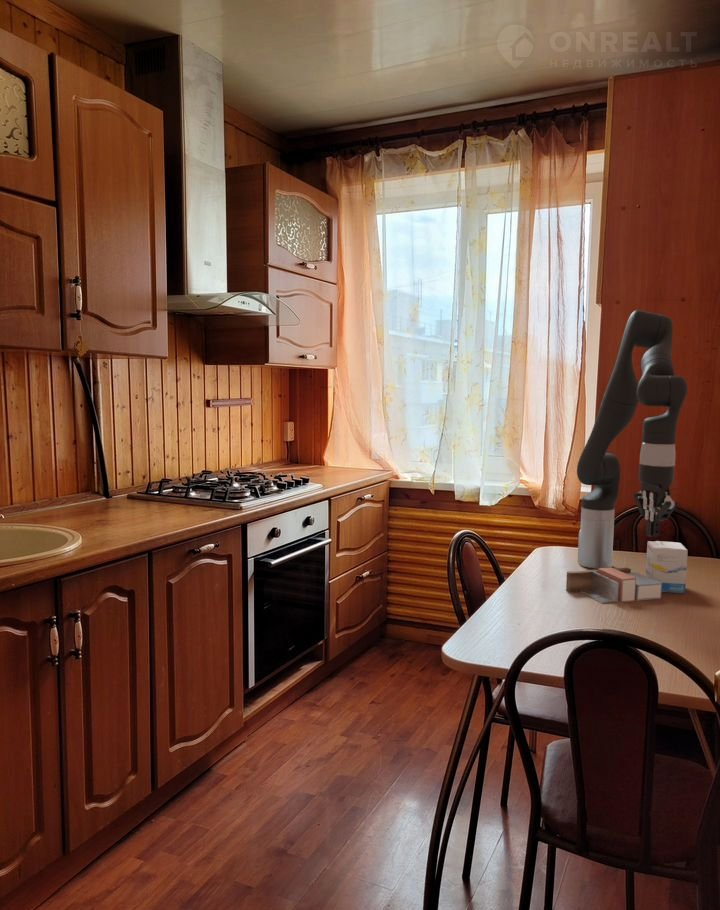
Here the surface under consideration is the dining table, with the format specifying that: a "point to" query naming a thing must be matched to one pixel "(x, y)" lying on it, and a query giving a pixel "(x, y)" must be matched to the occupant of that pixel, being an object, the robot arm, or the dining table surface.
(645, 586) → the flat book
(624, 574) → the boxed book
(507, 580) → the dining table surface
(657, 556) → the ink box
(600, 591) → the bookend
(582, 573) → the shelf wall
